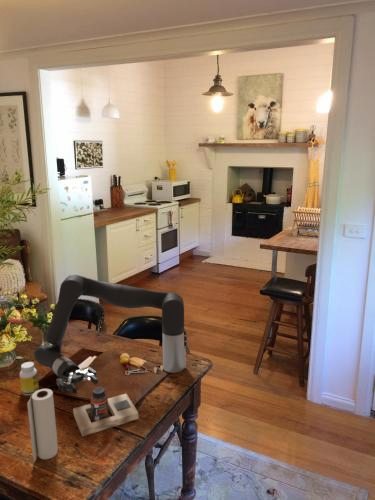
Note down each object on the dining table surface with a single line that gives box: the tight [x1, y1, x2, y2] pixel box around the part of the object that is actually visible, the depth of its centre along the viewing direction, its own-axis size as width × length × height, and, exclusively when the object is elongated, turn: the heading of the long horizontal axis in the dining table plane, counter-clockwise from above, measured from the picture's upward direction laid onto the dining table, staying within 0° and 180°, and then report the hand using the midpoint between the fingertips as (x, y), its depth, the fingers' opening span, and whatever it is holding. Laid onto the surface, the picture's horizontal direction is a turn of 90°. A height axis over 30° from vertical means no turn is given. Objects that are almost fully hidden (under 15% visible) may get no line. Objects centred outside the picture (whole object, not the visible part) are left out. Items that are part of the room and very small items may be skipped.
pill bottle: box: [19, 361, 40, 396], centre depth 161 cm, size 6×6×12 cm
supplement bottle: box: [90, 386, 109, 422], centre depth 145 cm, size 6×6×11 cm
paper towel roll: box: [26, 388, 59, 463], centre depth 127 cm, size 7×6×21 cm
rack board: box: [72, 393, 140, 437], centre depth 147 cm, size 20×13×3 cm, turn 117°
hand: (86, 386), depth 150 cm, fingers open, 8 cm apart
